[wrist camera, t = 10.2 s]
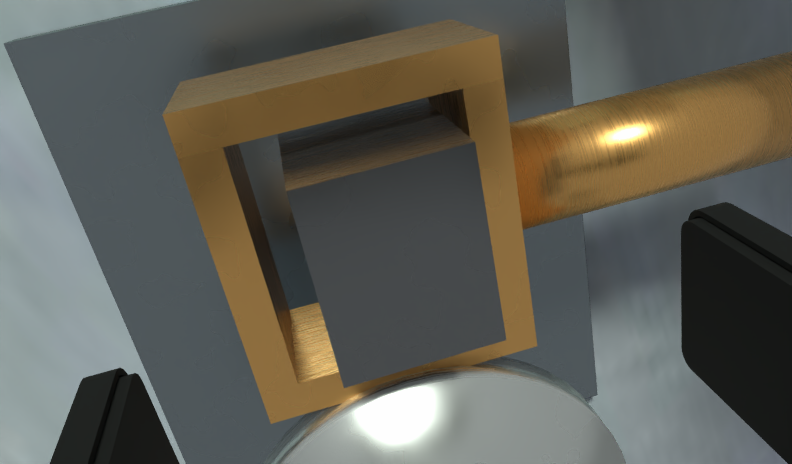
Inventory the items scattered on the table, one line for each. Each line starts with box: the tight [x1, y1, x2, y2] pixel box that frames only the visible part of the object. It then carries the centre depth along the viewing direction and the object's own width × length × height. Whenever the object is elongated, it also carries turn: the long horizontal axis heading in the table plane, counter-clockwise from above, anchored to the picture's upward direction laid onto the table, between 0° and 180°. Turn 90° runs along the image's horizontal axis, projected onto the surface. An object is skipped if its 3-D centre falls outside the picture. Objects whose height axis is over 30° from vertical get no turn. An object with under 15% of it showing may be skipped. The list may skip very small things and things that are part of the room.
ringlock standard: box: [4, 0, 792, 464], centre depth 20 cm, size 22×23×15 cm
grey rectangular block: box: [277, 98, 506, 388], centre depth 19 cm, size 5×4×10 cm
